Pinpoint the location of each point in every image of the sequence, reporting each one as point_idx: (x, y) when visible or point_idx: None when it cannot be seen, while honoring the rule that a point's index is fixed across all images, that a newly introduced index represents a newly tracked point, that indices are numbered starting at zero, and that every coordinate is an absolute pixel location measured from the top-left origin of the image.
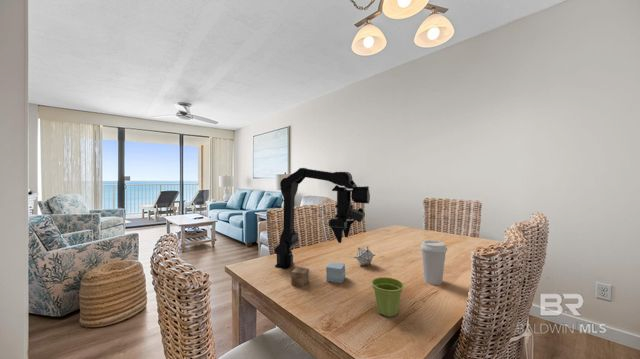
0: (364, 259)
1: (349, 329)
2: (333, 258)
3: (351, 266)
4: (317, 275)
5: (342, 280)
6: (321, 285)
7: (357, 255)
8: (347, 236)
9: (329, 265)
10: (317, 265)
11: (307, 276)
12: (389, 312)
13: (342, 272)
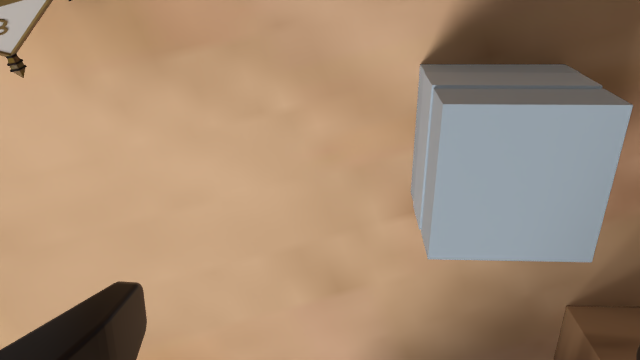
0: None
1: None
2: (34, 268)
3: (137, 68)
4: (448, 281)
5: (530, 66)
6: (630, 205)
7: (8, 31)
8: (135, 298)
9: (539, 245)
10: (253, 335)
11: (612, 337)
12: None
13: (550, 87)
